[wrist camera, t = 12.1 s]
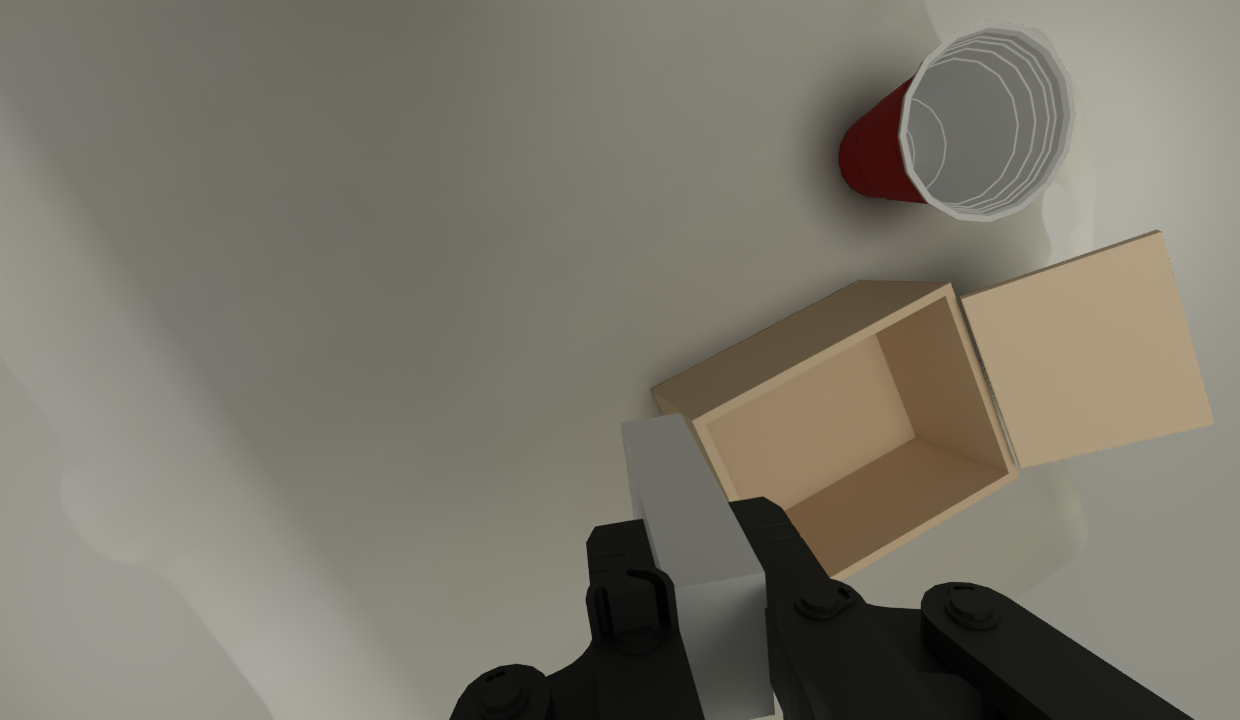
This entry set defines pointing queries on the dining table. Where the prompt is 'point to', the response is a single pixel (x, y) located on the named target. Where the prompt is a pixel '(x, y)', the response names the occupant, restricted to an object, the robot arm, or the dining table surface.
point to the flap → (1090, 352)
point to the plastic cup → (968, 127)
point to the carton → (851, 419)
